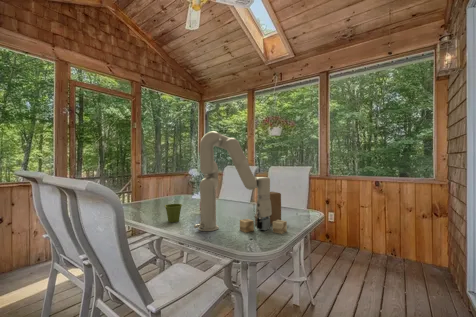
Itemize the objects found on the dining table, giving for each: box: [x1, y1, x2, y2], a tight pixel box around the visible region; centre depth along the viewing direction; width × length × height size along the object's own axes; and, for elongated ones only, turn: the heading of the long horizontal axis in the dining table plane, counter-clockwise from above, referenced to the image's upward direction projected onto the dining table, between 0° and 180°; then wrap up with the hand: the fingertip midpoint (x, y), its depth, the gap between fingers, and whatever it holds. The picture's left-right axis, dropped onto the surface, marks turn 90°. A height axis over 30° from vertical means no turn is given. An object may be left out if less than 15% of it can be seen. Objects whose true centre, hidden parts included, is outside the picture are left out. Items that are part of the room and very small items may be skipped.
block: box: [270, 191, 282, 225], centre depth 158 cm, size 10×10×20 cm
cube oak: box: [239, 218, 255, 233], centre depth 140 cm, size 6×6×6 cm
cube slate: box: [256, 217, 271, 231], centre depth 141 cm, size 6×6×6 cm
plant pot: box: [164, 203, 183, 223], centre depth 163 cm, size 12×12×11 cm
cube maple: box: [272, 219, 288, 235], centre depth 137 cm, size 6×6×6 cm
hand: (263, 226), depth 141 cm, fingers closed on cube slate, 6 cm apart
